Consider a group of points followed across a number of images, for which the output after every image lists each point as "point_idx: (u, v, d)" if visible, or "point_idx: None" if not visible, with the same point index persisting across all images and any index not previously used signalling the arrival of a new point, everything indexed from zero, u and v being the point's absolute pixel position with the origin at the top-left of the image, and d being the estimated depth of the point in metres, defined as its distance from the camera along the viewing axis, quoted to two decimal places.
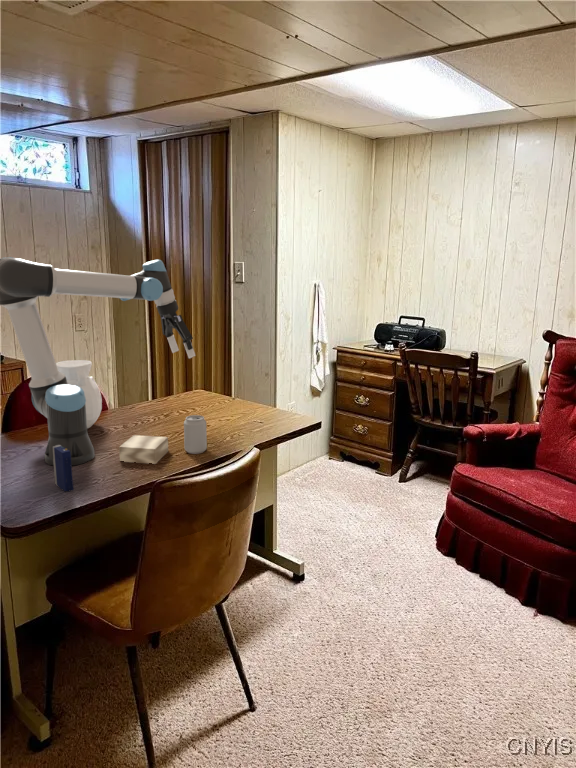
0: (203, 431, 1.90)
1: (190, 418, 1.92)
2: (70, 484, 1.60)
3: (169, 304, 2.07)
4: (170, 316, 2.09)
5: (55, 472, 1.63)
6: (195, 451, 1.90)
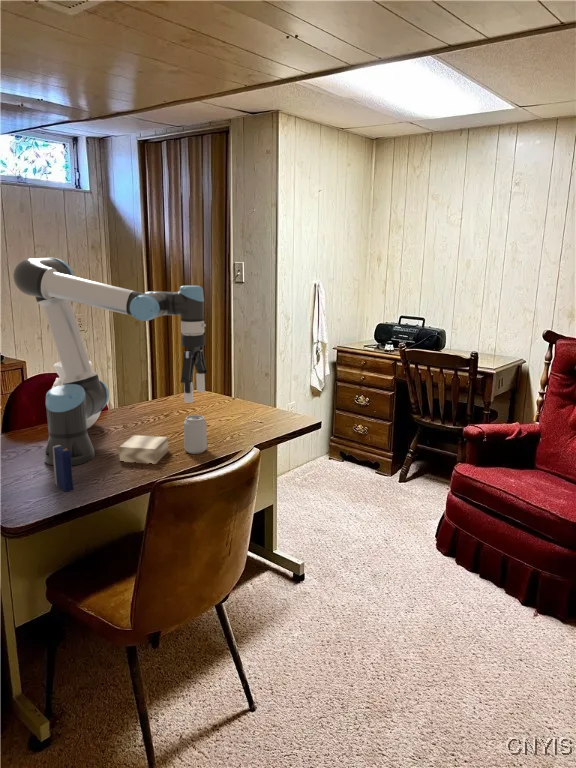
0: (203, 431, 1.90)
1: (190, 418, 1.92)
2: (70, 484, 1.60)
3: (188, 336, 1.81)
4: None
5: (55, 472, 1.63)
6: (195, 451, 1.90)
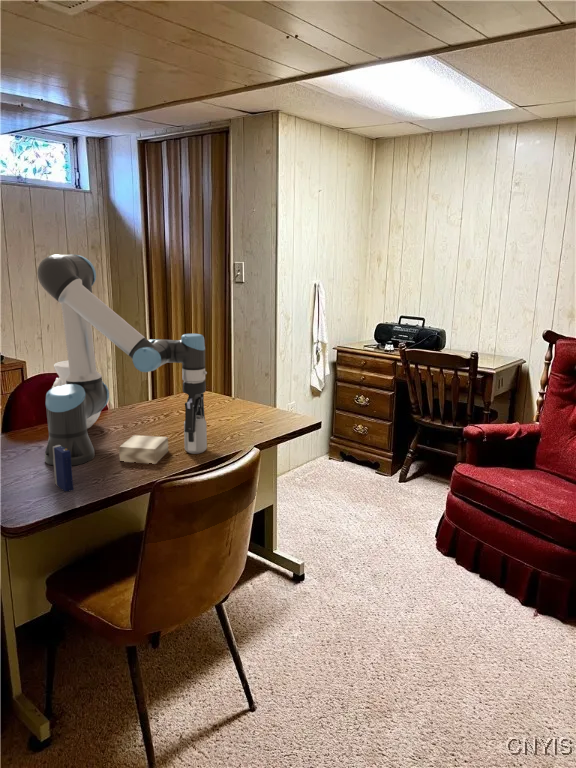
0: (203, 431, 1.90)
1: None
2: (70, 484, 1.60)
3: (189, 384, 1.85)
4: None
5: (55, 472, 1.63)
6: (195, 451, 1.90)
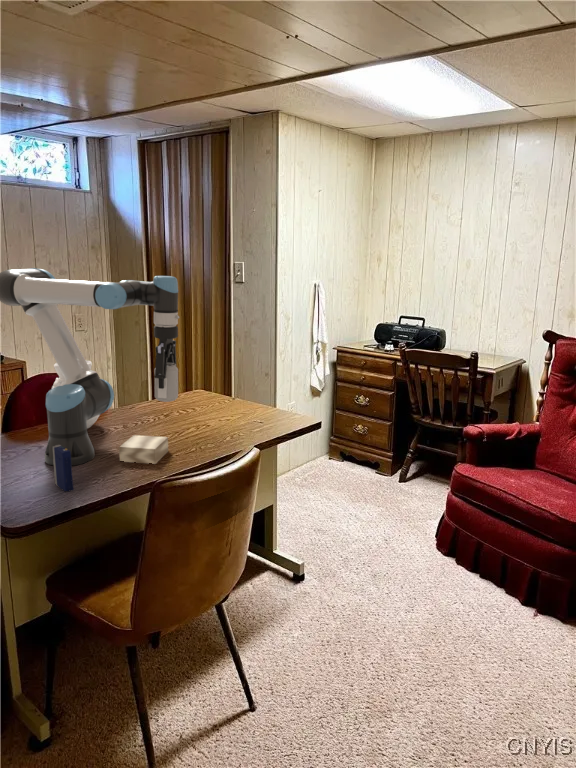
0: (174, 378, 1.83)
1: None
2: (70, 484, 1.60)
3: (161, 328, 1.78)
4: None
5: (55, 472, 1.63)
6: (166, 399, 1.83)
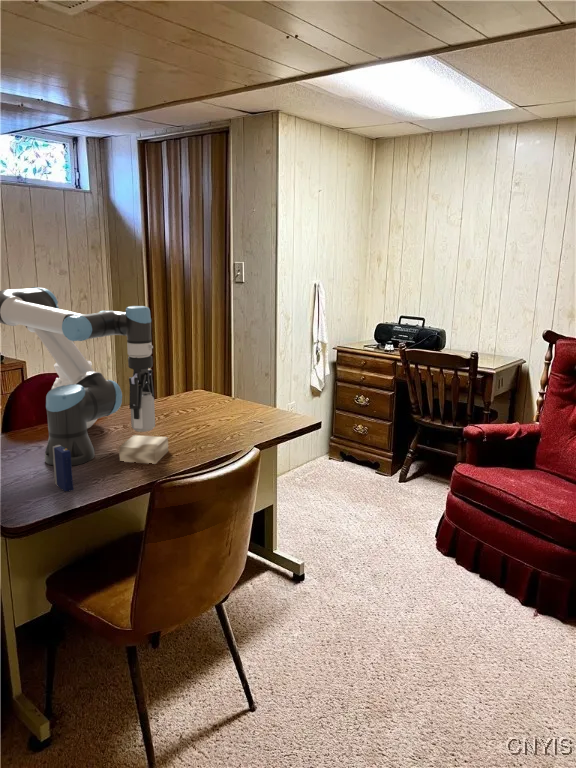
0: (150, 408, 1.82)
1: None
2: (70, 484, 1.60)
3: (134, 358, 1.77)
4: None
5: (55, 472, 1.63)
6: (142, 429, 1.82)
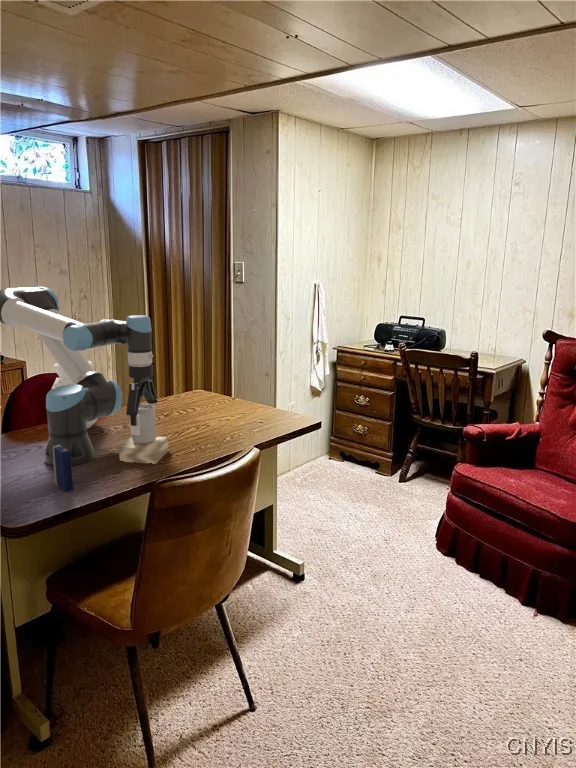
0: (150, 421, 1.83)
1: None
2: (70, 484, 1.60)
3: (135, 367, 1.78)
4: None
5: (55, 472, 1.63)
6: (142, 441, 1.83)
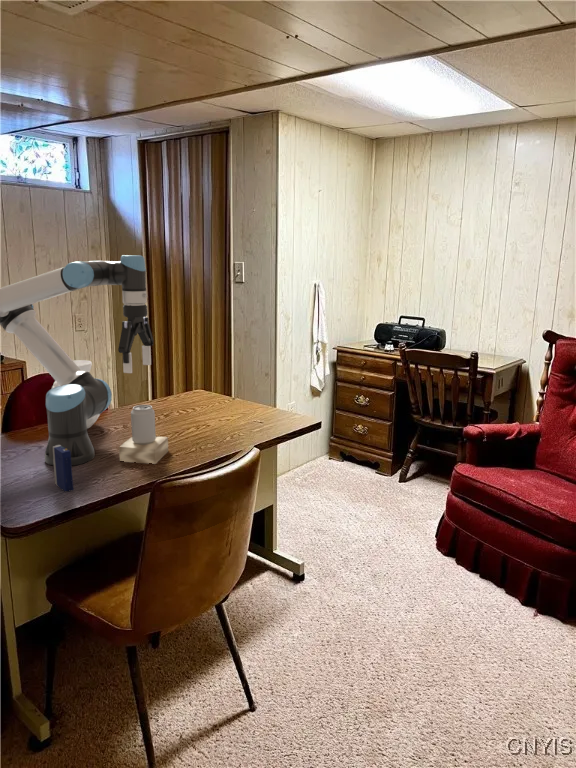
0: (150, 421, 1.83)
1: (138, 408, 1.85)
2: (70, 484, 1.60)
3: (128, 306, 1.80)
4: None
5: (55, 472, 1.63)
6: (142, 442, 1.83)
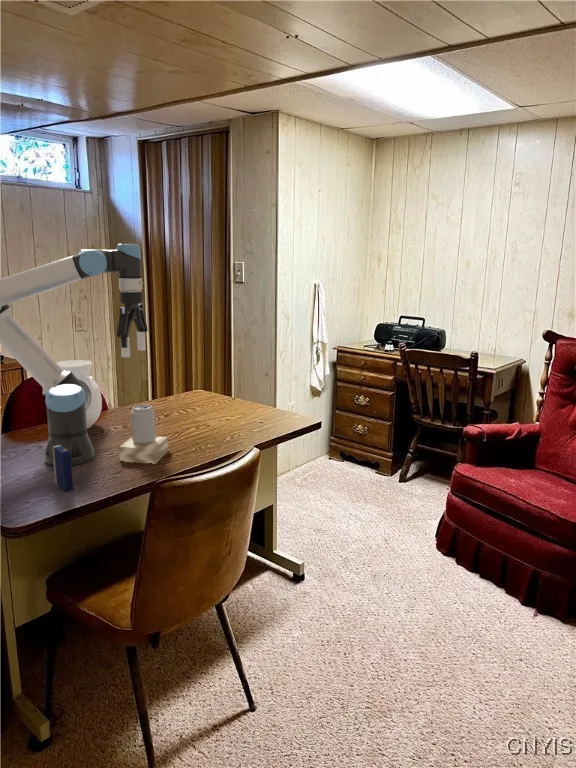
0: (150, 421, 1.83)
1: (137, 408, 1.85)
2: (70, 484, 1.60)
3: (125, 293, 1.87)
4: None
5: (55, 472, 1.63)
6: (142, 442, 1.83)
